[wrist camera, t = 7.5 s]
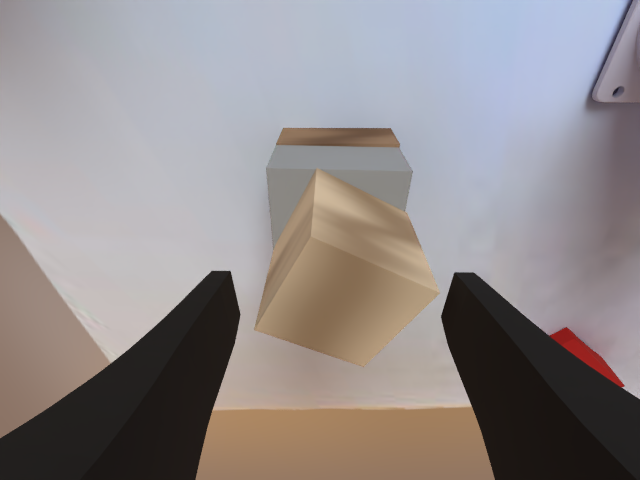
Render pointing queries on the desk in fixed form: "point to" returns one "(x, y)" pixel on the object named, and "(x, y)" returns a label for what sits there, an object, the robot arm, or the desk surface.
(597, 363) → the bracket
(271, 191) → the slate-grey top block
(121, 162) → the desk surface
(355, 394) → the desk surface
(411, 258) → the birch block
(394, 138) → the walnut base block
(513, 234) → the desk surface
